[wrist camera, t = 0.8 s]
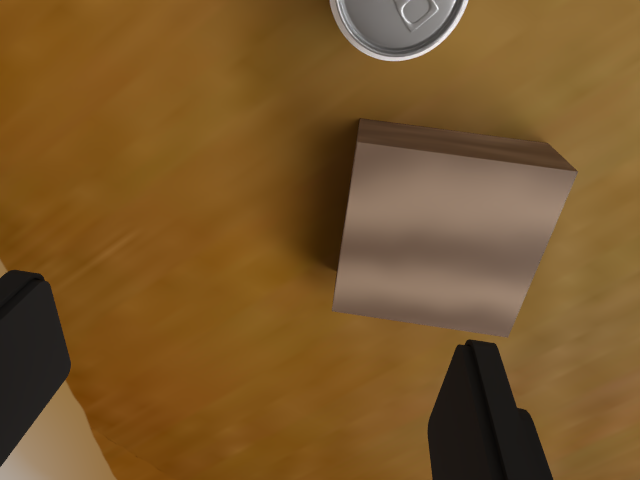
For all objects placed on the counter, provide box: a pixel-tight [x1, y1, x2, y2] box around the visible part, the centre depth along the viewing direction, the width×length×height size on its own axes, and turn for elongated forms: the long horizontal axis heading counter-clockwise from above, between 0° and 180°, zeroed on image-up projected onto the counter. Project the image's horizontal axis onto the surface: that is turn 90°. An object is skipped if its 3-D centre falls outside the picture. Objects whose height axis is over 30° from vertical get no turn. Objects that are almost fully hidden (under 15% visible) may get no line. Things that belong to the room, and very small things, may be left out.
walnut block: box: [332, 118, 578, 337], centre depth 35 cm, size 14×14×6 cm
